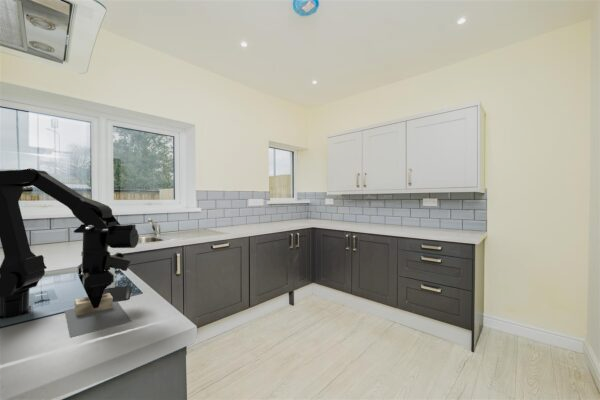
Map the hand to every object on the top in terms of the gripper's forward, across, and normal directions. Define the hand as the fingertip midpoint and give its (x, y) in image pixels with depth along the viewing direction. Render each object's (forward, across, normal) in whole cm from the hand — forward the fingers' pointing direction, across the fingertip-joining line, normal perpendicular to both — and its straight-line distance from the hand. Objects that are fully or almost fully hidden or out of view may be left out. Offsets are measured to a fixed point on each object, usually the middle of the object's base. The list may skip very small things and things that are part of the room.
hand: (93, 303), depth 74 cm
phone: (+3, +10, -7) cm, 13 cm away
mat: (+2, -6, 0) cm, 6 cm away
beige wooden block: (+2, 0, 0) cm, 2 cm away
